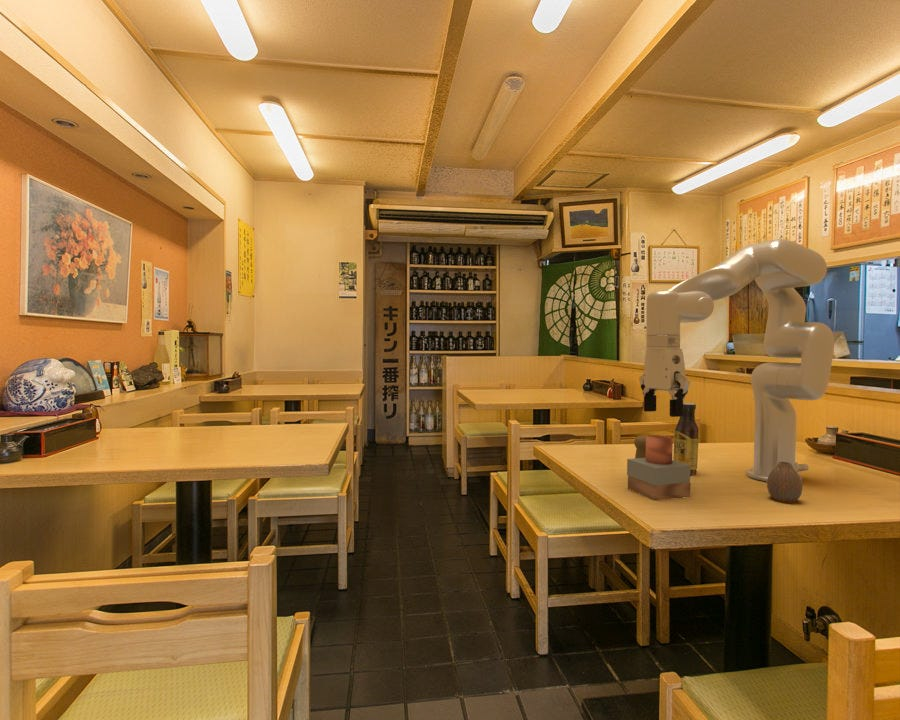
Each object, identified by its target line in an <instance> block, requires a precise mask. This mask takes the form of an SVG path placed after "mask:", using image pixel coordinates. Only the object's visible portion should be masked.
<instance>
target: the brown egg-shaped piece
mask: <svg viewBox="0 0 900 720" xmlns="http://www.w3.org/2000/svg"><path fill="white" fill-rule="evenodd" d="M800 476H801V475H800V474H799V472H798V473H797V472H796V471H795V469H794V468H793V466H792V464H791V463H789V462H779V463H778V465H777V466H776V467H775V468H774V469H773V470H772V471H771V472H770V474H769V476H768V478H767V481H766V487H767V491H768V494H769V495H770V497H771V498H772V499H774V500H775V501H778V502H782V503H795V502H796V501H798V500H799V499H800V498H801V497H802V493H803V488H804V485H803V479H802V480H801V478H800Z"/></svg>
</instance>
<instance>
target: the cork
mask: <svg viewBox="0 0 900 720" xmlns="http://www.w3.org/2000/svg"><path fill="white" fill-rule="evenodd" d="M646 436H647V435H646ZM646 436H645V435H640V436H636V437H635V439H634V446H635V448H636V450H635V456H634V458H646Z"/></svg>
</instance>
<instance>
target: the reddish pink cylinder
mask: <svg viewBox="0 0 900 720" xmlns="http://www.w3.org/2000/svg"><path fill="white" fill-rule="evenodd" d="M673 452H674V438H673V437H671V436H668V435H660V434H659V435H658V434H649V435H646V462H649V463H653V464H661V465H668V464H672V460H673Z"/></svg>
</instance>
